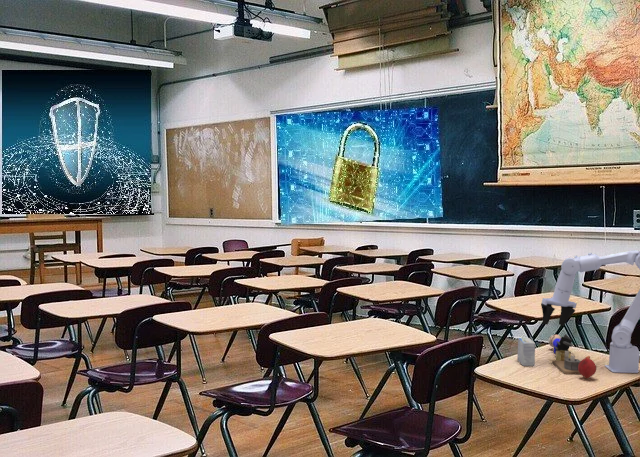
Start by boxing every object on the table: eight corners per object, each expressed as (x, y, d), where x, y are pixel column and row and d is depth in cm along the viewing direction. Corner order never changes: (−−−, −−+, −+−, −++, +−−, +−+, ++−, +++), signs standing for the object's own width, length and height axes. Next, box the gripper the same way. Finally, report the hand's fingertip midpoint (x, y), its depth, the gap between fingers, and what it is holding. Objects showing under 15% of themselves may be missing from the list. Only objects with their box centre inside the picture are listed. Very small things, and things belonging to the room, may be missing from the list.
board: (579, 363, 273) (580, 349, 273) (592, 374, 259) (593, 359, 259) (552, 363, 273) (552, 348, 273) (564, 374, 259) (565, 358, 259)
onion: (586, 381, 251) (588, 358, 250) (573, 377, 256) (575, 354, 255) (599, 379, 253) (600, 357, 253) (586, 375, 258) (587, 352, 258)
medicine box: (534, 366, 268) (535, 343, 267) (522, 366, 268) (523, 342, 267) (528, 360, 276) (530, 337, 275) (516, 360, 276) (518, 337, 275)
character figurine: (555, 359, 280) (547, 349, 295) (575, 358, 279) (566, 349, 294) (554, 339, 279) (546, 330, 294) (574, 338, 279) (565, 329, 293)
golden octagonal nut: (569, 359, 278) (569, 350, 278) (571, 363, 273) (571, 354, 273) (554, 358, 279) (555, 349, 279) (556, 362, 274) (557, 353, 274)
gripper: (571, 288, 278) (561, 321, 281) (540, 284, 272) (530, 318, 275) (584, 294, 272) (573, 328, 274) (553, 290, 266) (542, 325, 269)
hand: (553, 324), depth 274 cm, fingers open, 7 cm apart
